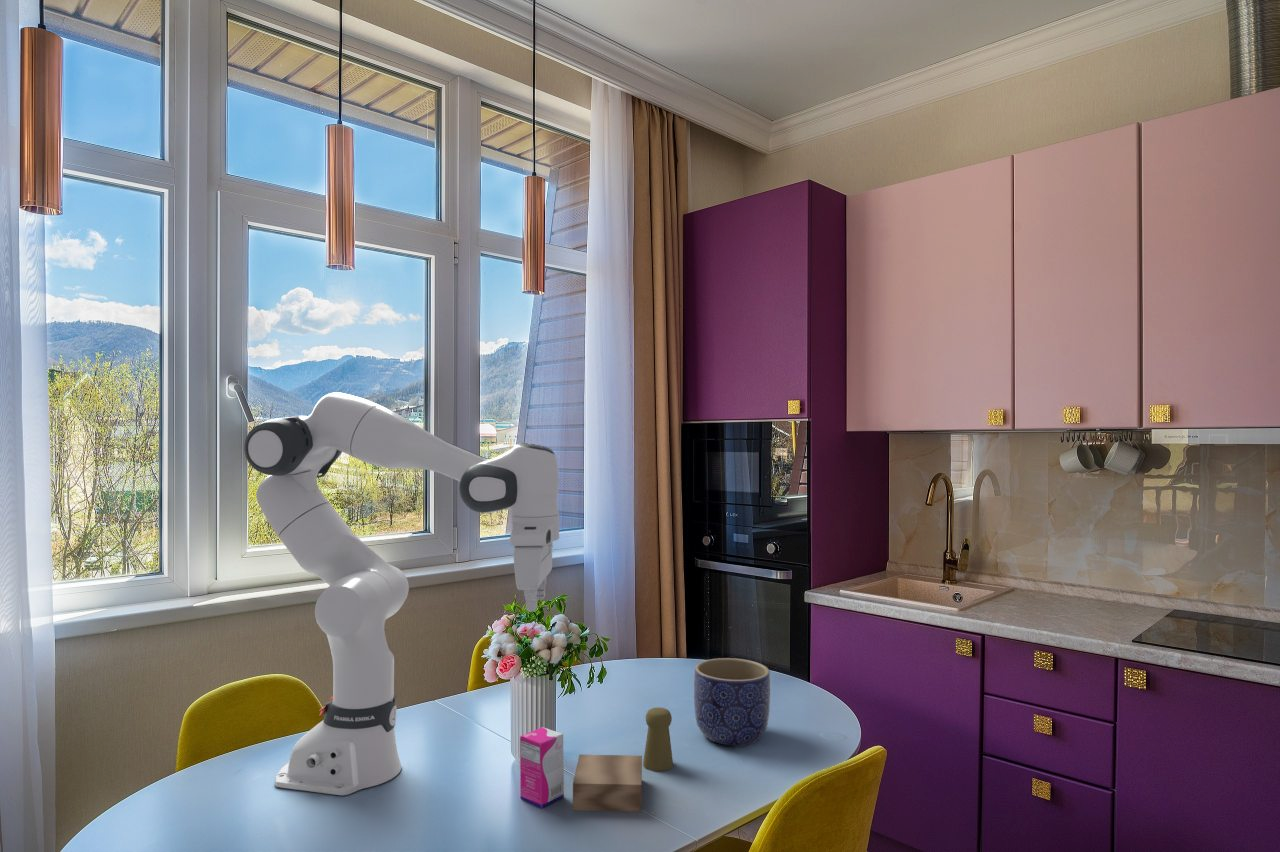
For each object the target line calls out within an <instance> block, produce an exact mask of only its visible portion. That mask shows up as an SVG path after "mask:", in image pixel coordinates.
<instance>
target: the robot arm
mask: <svg viewBox="0 0 1280 852" xmlns="http://www.w3.org/2000/svg"><path fill="white" fill-rule="evenodd" d="M313 407H314V408H313V410H312V412H311V413H310V414H309V415H308V416H307V415H292V416H288V417H287V416H286V417H277V418H271V419H267V420H265V421H263V422H260V423H258V424H257V425H255V426H254V427H253V428H252V429H251V430H250V431H249V432H248V433H247V435H246V437H245V440H244V448H243V449H244V455H245V458H246V460H247V463H249V465H250V466H251V467H252V469H254V470H256V471H257V472H259V473H261V474H264V475H267V476H266V477H265V478H264V479H263V480H262V481H261V482H260V483H259V485H258V486H257V489H256V492H255V494H256V495H255V496H256V500H257V503H258V505H259V507H260V509H261V511H262V513H263V515H264V517H265V518H266V520H267V522H268V524H269V526H270V527H271V528H272V530H273V531H274V533H275V534H276V536H277V537H278V538H279V539H280V541H281V542H282V544H283V545H284V546H285V547H286V549H287V550H288V551H289V553H290V554H291V555H292V556H293V558H294V560H295V561H296V562H297V563H298V564H299V566H300V567H301V568H302V569H303V570H304V571H305V572H307V573H309V574H311V575H314V576H316V577H318V578H319V579H321V580H322V581H324V582H325V583H327V585H329V586H328V587H327V588H326V589H325V590H324V591H323V592H322V593H321V594H320V595H319V596H318V598H317V600H316V602H315V606H314V617H315V621H316V624H317V625H318V627H319V628H320V630H321V631H322V632H323V633H324V634H326V637H327V638H326V639H327V641H328V645H329V648H330V649H329V650H330V652H331V658H332V668H333V670H332V673H333V674H332V675H333V677H332V679H333V681H332V682H333V683H332V686H333V687H332V688H333V689H332V693H333V694H332V696H331V697H330V698H329V700H328V701H327V702H325V704H323V706H322V708H320V709H319V712H320V713H319V717H321V716H323V720H321V721H320V722H318V723H317V724H316V725H315V726H313V728H311V729H310V730H309V731H308V732H306V733H305V734H304V735H302V736H301V737H300V738H299V739H298V740H297V742H295V744H294V745H293V747H292V750H291V753H290V756H289V761H288V762H287V763H285V765H283V766H282V768H280V769H279V771H278V772H277V774H276V775H275V779H274V780H275V781H274V786H275V787H276V788H281V789H290V790H295V791H296V790H297V791H303V792H305V791H306V792H312V793H313V792H314V793H320V794H328V795H336V796H348V795H350V794H352V793H356V792H358V791H360V790H363V789H367V788H372V787H374V786H378V785H381V784H384V783H387V782H388V781H390V780H392V779H393V778H395V777H396V776H398V774H399V773H400V772H401V770H402V763H401V760H400V757H399V751H398V748H397V747H398V746H397V740H396V734H395V733H396V731H395V726H396V722H397V698H396V697H397V696H396V695H395V694H394V691H395V690H394V687H395V685H394V684H395V656H394V654H393V652H392V651H391V650H390V649H389V645H388V642H387V641H388V640H387V637H386V633H385V632H386V631H385V624H386V620H387V619H389V618H390V617H393V616H395V614H396V613H397V612H398V611H399V610H400V609H401V608H402V606H403V605H404V603H405V602H406V600H407V598H408V595H409V589H410V587H409V586H410V585H409V584H410V583H409V581H408V578H407V576H406V574H405V572H403V571H402V570H401V569H400V568H398V567H396V566H394V565H392V564H390V563H388V562H387V561H385V559H383V558H382V557H381V556H380V555H378V554H377V553H376V552H375V551H374V550H372V549H371V548H370V547H369V546H368V545H367V544H366V543H365V542H363V541H362V540H361V539H360V538H359V537H358V536H357V535H356V533H354V532H353V530H352V529H351V528H350V527H349V526H348V524H347V523H346V522H345V521H344V519H343V518H342V517H341V515H340V514H339V513H338V512H337V511H336V509H335V507H334V506H333V505H332V503H330V501H329V500H328V499H327V497H325V495H324V494H323V493H322V491H321V489H320V488H319V486H318V483H317V478H318V479H319V478H322V477H324V476H326V474H327V473H328V472H329V470H330V468H331V467H332V465H333V464H334V463H335V462H336V461H337V460H338V458H339V457H340V456H341V454H342V453H344V454H347V455H348V456H350V457H352V458H355V459H357V460H359V461H361V462H363V463H366V464H370V465H372V466H377V467H381V468H384V469H394V470H396V469H398V470H399V469H401V470H402V469H404V470H405V469H412V470H413V469H414V470H415V469H416V470H417V469H418V470H427V471H431V472H435V473H438V474H441V475H444V476H446V477H448V478H451V479H453V480H456V481H457V482H459V495H460V499H461V501H462V502H463V503H464V504H465V506H466V507H467V508H469V509H470V510H471V511H473V512H475V513H479V514H480V513H481V514H493V513H496V512H500V511H503V510H509V511H510V512H511V515H510V516H511V517H510V518H511V527H510V528H511V531H510V537H509V544H510V545H509V546H511V547H514V548H513V566H514V579H515V585H516V588H517V590H519V591H523V595H524V600H525V610H526V612H529V613H531V612H532V613H533V612H535V611H536V610H537V609H538V601H543V600H544V599H545V597H546V585H547V576H548V575H549V574H550V573H551V572H552V568H553V548H554V547H553V542H554V541H558V540H559V539H560V512H559V511H560V510H559V508H558V496H559V494H560V493H559V492H560V483H559V482H560V479H559V478H560V477H559V466H558V459H557V456H556V453H555V452H554V451H553V450H552V449H551V448H549V447H547V446H544V445H542V444H534V443H525V442H521V443H520V442H519V443H517V444H514V446H513V447H512V448H510V449H509V450H508V451H506V452H504V453H501V454H500V455H498V456H496V457H492V458H487V457H484V456H481V455H479V454H477V453H474V452H471V451H469V450H467V449H464V448H462V447H460V446H458V445H455V444H453V443H450V442H448V441H447V440H446V441H445V440H444V439H441V438H440V437H437V436H436V435H434V434H433V433H431V432H429V431H427V430H425V429H424V428H422V427H420V426H419V425H417V424H415V423H414V422H412V421H410V420H409V419H408V418H406V417H404V416H402V415H400V414H399V413H397V412H395V411H393V410H391V409H389V408H387V407H385V406H383V405H380V404H378V403H377V402H376V403H375V402H374V401H371V400H368V399H365V398H363V397H359V396H355V395H352V394H348V393H343V392H331V393H328V394H325V395H324V396H322V397H321V398H320V399H319V400H318V401H317V402H316V404H315V406H313Z"/></svg>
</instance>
